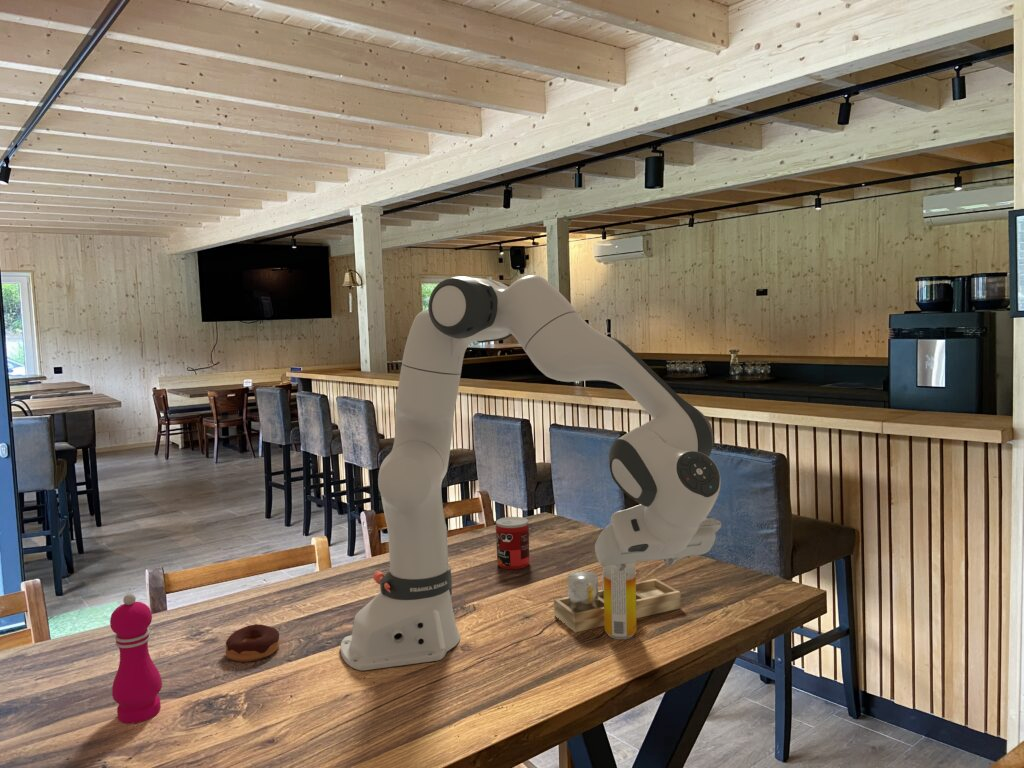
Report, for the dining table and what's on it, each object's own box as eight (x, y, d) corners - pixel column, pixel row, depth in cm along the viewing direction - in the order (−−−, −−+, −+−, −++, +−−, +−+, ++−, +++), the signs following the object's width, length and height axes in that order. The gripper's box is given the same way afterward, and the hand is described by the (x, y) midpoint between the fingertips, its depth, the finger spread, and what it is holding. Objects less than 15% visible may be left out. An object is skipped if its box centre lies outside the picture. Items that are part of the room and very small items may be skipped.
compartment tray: (575, 632, 149) (574, 615, 149) (554, 616, 157) (554, 599, 157) (680, 608, 159) (680, 591, 159) (656, 594, 167) (655, 578, 167)
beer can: (635, 627, 151) (634, 553, 149) (637, 640, 145) (636, 563, 143) (604, 626, 151) (602, 553, 150) (605, 640, 145) (603, 563, 144)
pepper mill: (171, 700, 128) (161, 584, 126) (152, 724, 121) (141, 601, 119) (127, 702, 128) (116, 586, 126) (105, 726, 120) (94, 604, 118)
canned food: (493, 561, 191) (492, 518, 190) (524, 557, 194) (522, 515, 193) (502, 571, 184) (500, 527, 183) (533, 567, 187) (532, 523, 185)
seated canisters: (577, 618, 151) (577, 584, 150) (563, 607, 156) (562, 574, 155) (638, 605, 156) (637, 571, 156) (622, 595, 162) (621, 563, 161)
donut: (249, 669, 139) (248, 648, 138) (214, 658, 144) (212, 637, 143) (292, 647, 147) (290, 627, 147) (257, 637, 152) (255, 617, 152)
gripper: (718, 502, 129) (691, 541, 139) (603, 513, 124) (584, 553, 134) (732, 535, 125) (703, 573, 135) (613, 549, 120) (593, 587, 131)
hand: (643, 564), depth 135 cm, fingers open, 8 cm apart
